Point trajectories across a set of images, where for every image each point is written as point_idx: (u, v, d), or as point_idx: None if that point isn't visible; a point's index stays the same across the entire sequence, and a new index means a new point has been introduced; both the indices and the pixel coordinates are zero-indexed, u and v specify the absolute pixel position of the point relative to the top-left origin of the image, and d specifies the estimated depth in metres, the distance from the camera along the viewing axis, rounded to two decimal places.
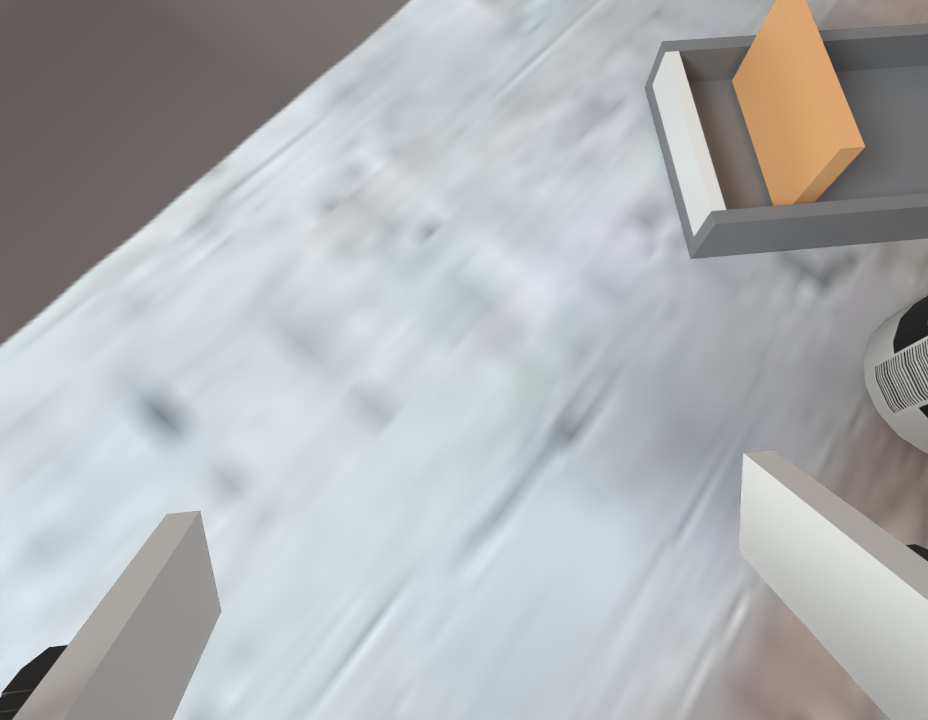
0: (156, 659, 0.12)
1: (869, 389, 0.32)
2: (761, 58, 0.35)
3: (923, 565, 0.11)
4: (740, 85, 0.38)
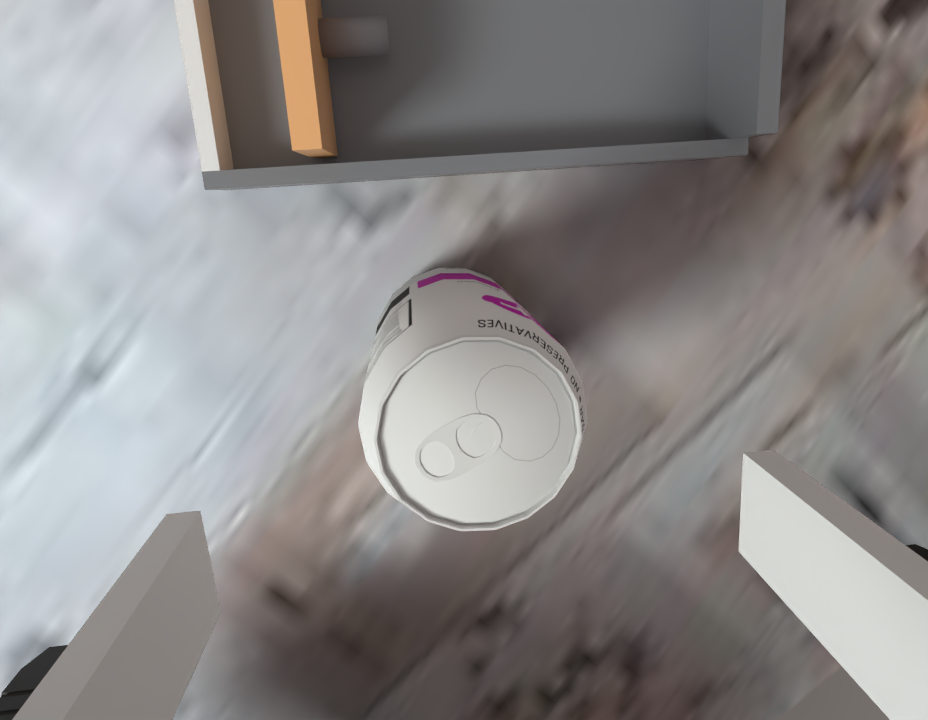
0: (156, 659, 0.12)
1: None
2: None
3: (923, 565, 0.11)
4: None
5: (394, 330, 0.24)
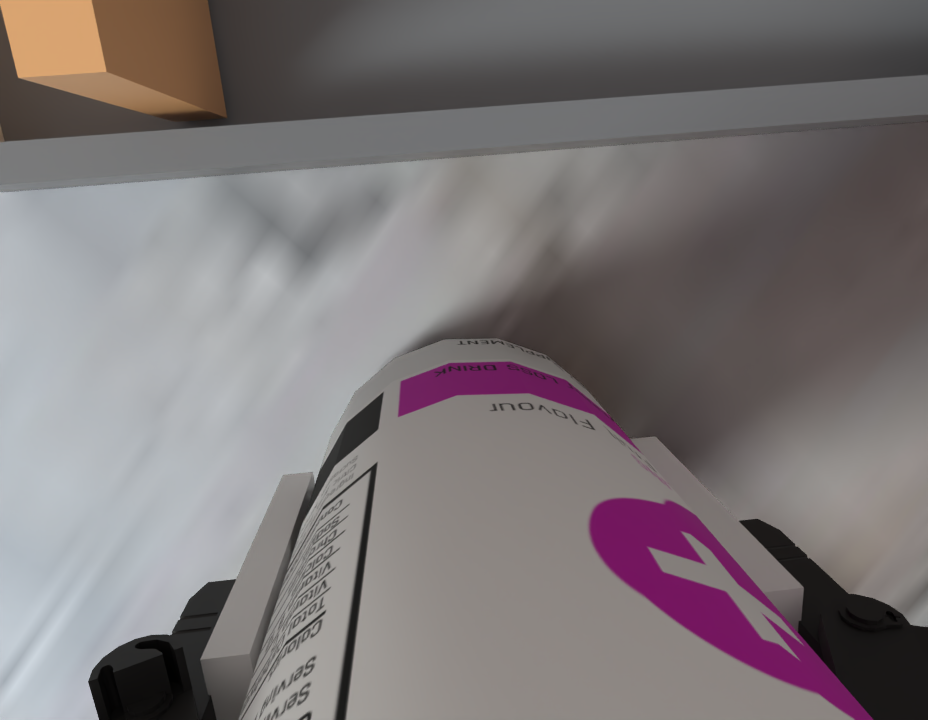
0: None
1: None
2: None
3: (742, 534, 0.12)
4: None
5: (300, 667, 0.07)
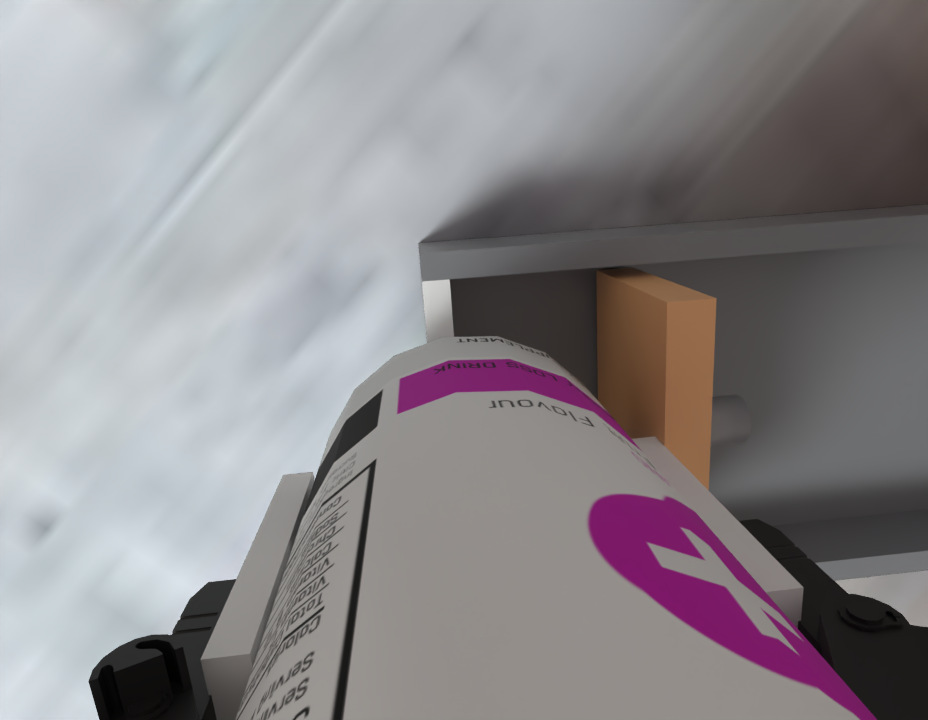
0: None
1: None
2: (626, 332, 0.18)
3: (742, 534, 0.12)
4: (602, 302, 0.20)
5: (298, 663, 0.07)
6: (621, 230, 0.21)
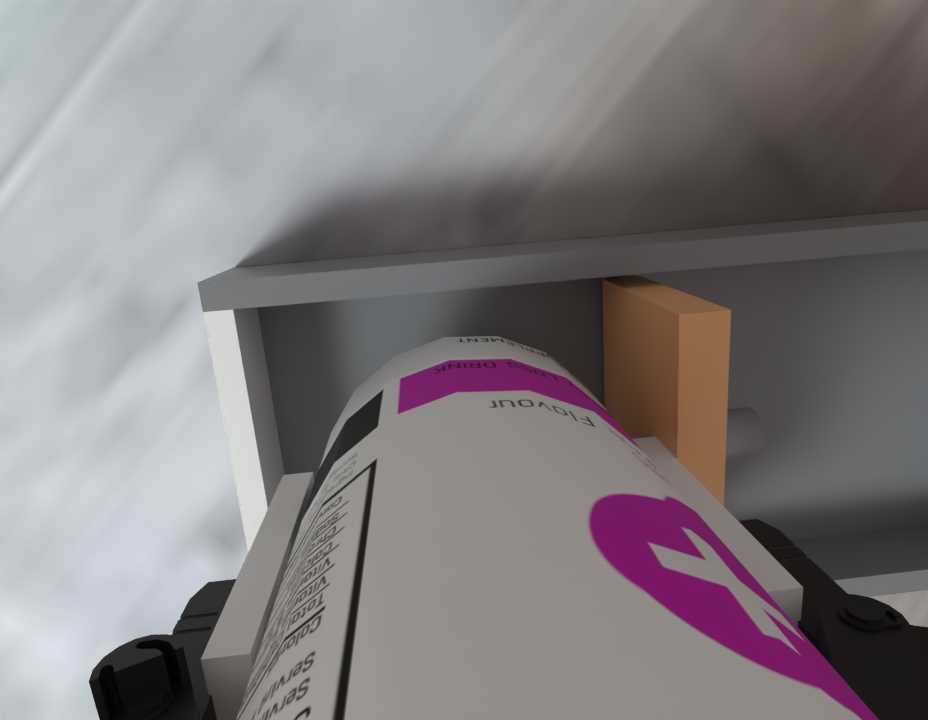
0: None
1: None
2: (635, 344, 0.17)
3: (742, 534, 0.12)
4: (608, 312, 0.20)
5: (299, 663, 0.07)
6: (440, 253, 0.20)
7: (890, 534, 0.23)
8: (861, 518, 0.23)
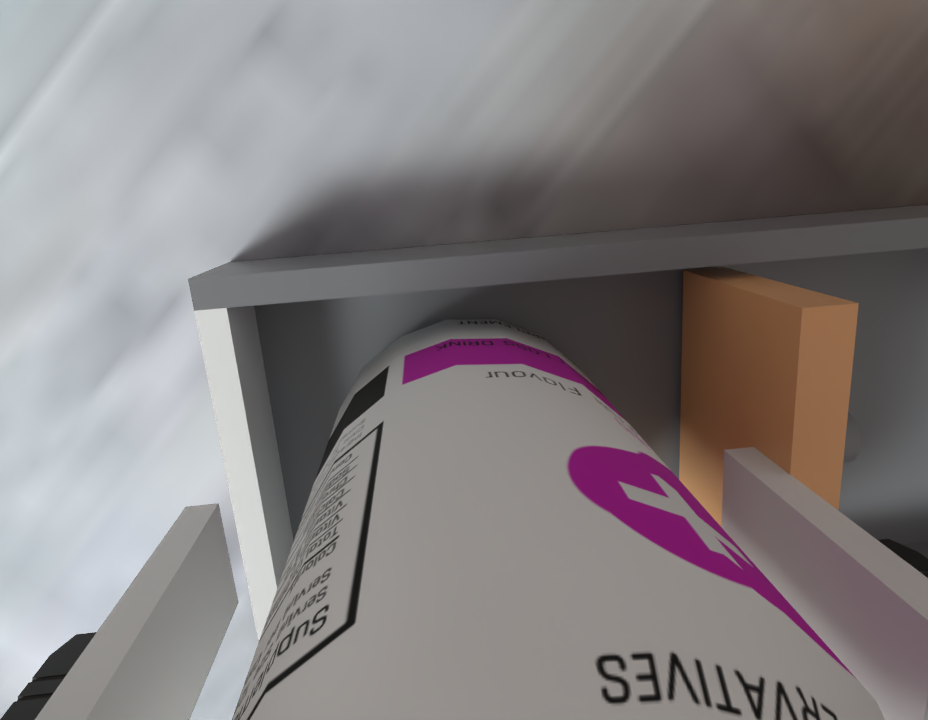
0: (180, 646, 0.12)
1: None
2: (730, 340, 0.16)
3: (892, 558, 0.11)
4: (691, 305, 0.18)
5: (317, 578, 0.08)
6: (450, 247, 0.18)
7: (925, 546, 0.22)
8: (895, 530, 0.22)
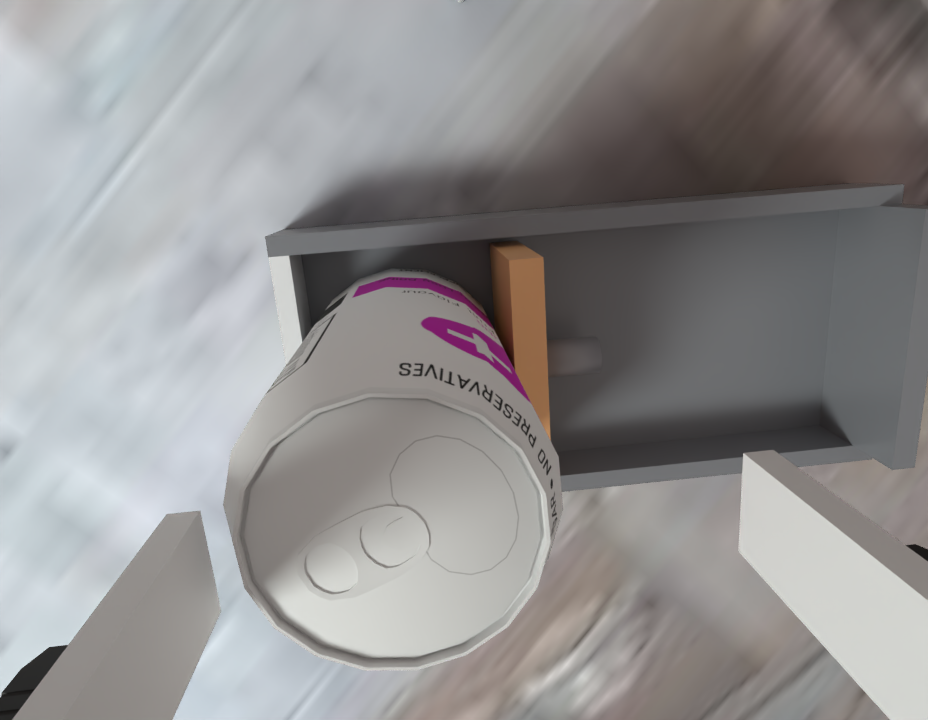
0: (156, 659, 0.12)
1: None
2: (500, 286, 0.25)
3: (923, 565, 0.11)
4: (492, 266, 0.27)
5: (292, 364, 0.16)
6: (433, 218, 0.27)
7: (770, 432, 0.31)
8: (750, 421, 0.31)
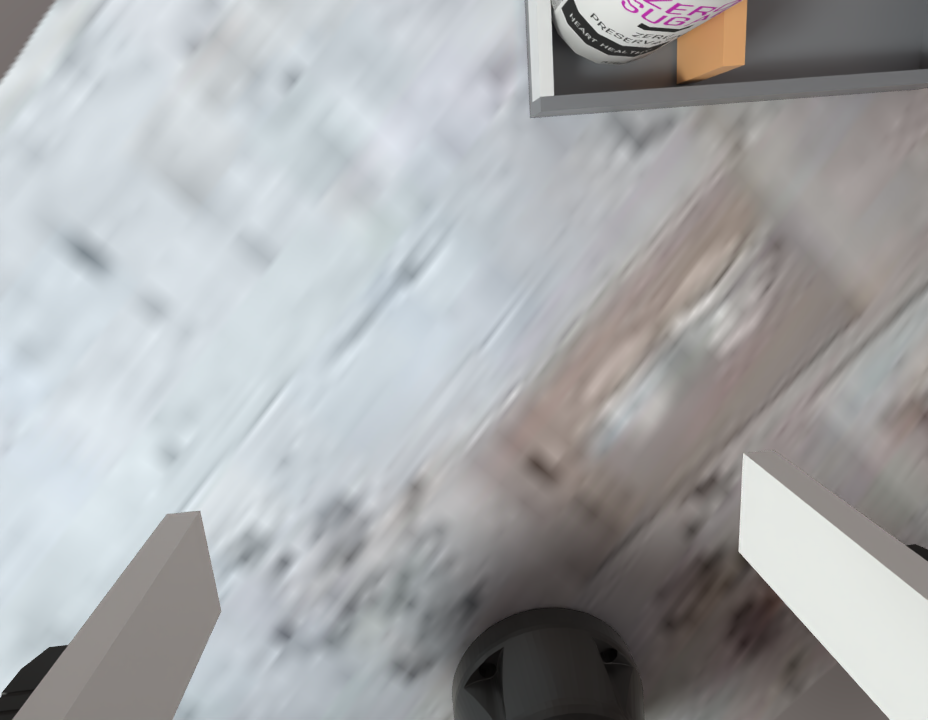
0: (156, 659, 0.12)
1: None
2: None
3: (923, 565, 0.11)
4: None
5: None
6: None
7: None
8: (865, 68, 0.40)
